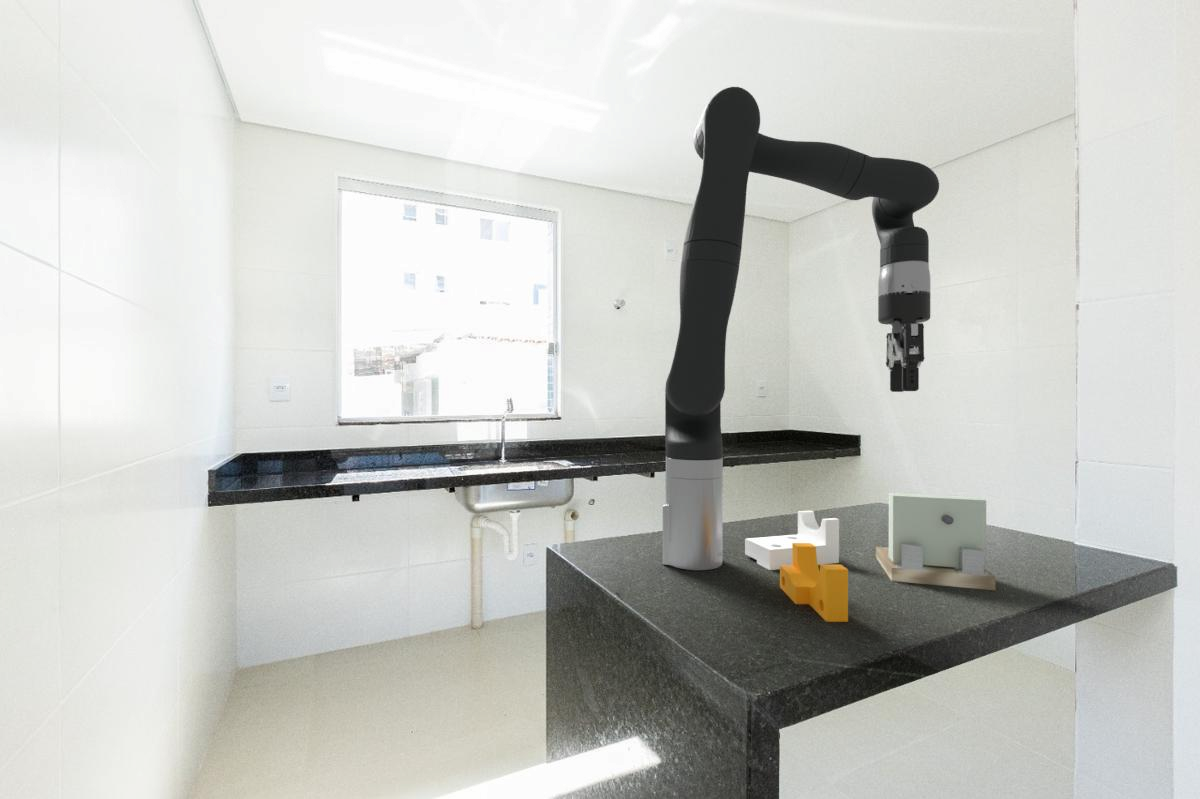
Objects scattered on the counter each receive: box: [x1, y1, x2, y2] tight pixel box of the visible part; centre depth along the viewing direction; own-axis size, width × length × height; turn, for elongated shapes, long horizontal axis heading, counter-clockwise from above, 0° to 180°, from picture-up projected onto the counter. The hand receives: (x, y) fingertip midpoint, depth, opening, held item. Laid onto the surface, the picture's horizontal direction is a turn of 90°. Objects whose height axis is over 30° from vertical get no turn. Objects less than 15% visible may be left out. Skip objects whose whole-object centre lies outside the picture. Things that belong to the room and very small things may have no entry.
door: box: [888, 492, 987, 570], centre depth 80 cm, size 12×4×10 cm, turn 73°
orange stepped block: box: [779, 543, 849, 623], centre depth 71 cm, size 12×4×6 cm, turn 179°
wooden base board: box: [875, 546, 996, 591], centre depth 83 cm, size 13×12×2 cm
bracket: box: [744, 510, 840, 571], centre depth 89 cm, size 13×7×8 cm, turn 107°
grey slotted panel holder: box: [895, 543, 988, 576], centre depth 81 cm, size 11×7×4 cm, turn 73°
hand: (903, 391), depth 89 cm, fingers open, 8 cm apart
